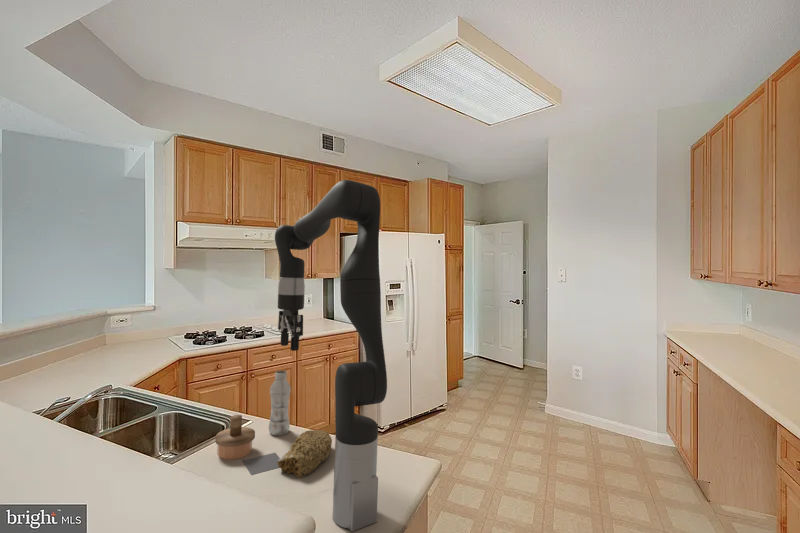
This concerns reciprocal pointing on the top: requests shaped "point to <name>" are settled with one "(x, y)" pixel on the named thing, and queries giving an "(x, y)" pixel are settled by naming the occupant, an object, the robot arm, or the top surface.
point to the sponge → (306, 453)
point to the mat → (262, 463)
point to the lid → (235, 433)
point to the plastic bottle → (279, 405)
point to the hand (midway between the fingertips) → (289, 347)
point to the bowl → (234, 451)
